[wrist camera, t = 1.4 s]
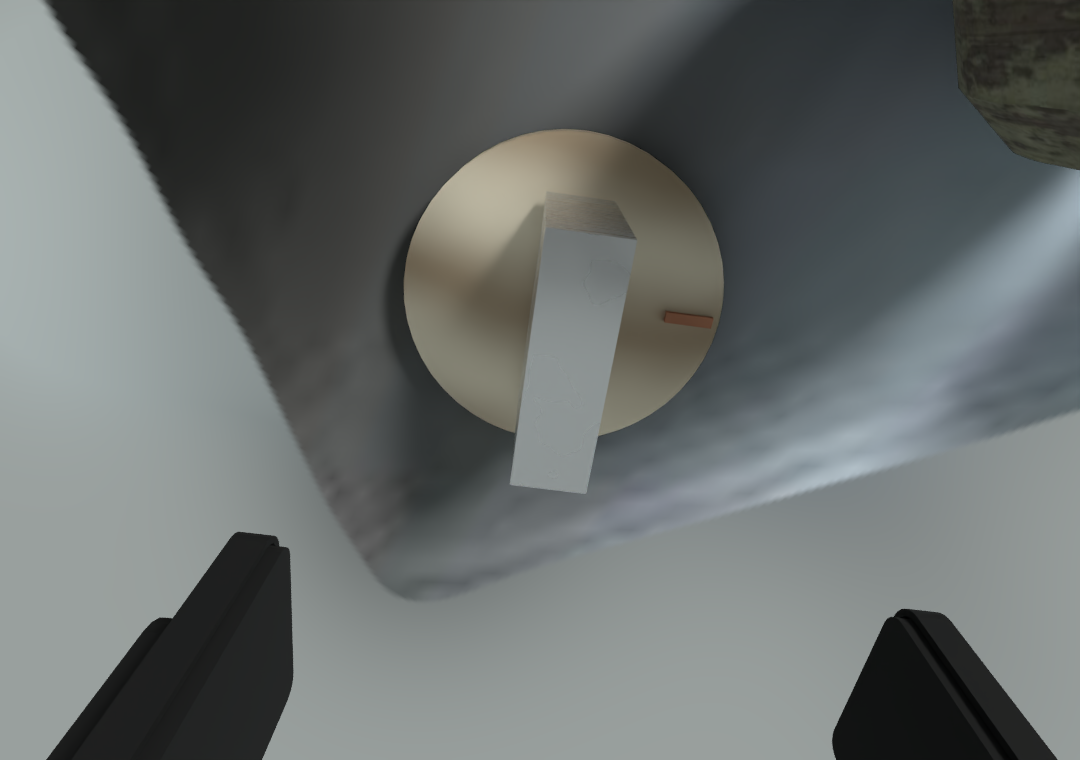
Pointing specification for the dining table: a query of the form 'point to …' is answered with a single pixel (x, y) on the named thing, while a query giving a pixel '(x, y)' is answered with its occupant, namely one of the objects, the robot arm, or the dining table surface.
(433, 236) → the dial base
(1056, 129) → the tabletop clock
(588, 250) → the dial knob
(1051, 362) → the dining table surface
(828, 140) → the dining table surface
